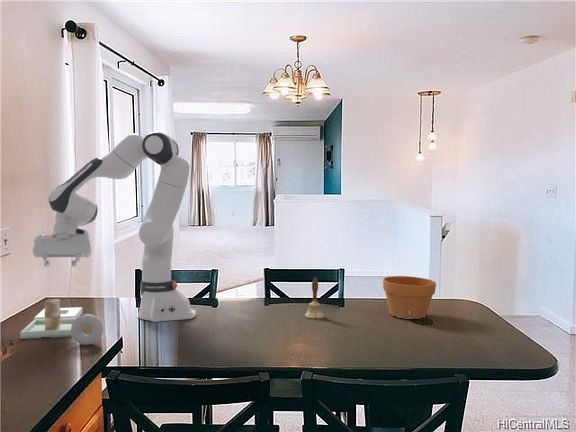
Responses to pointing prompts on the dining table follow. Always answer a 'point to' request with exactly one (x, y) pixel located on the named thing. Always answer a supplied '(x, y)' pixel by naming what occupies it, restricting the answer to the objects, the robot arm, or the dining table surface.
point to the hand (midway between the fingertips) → (60, 265)
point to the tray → (38, 330)
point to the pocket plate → (63, 313)
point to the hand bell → (314, 303)
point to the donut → (91, 321)
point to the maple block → (52, 314)
